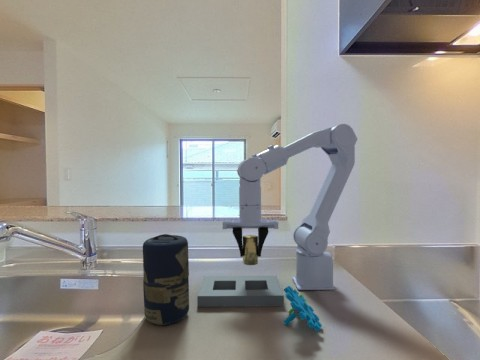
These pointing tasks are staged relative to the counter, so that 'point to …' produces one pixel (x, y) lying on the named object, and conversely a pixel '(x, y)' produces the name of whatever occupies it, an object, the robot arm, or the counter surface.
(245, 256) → the bushing
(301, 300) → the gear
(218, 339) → the counter surface
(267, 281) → the jig
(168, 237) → the canister
